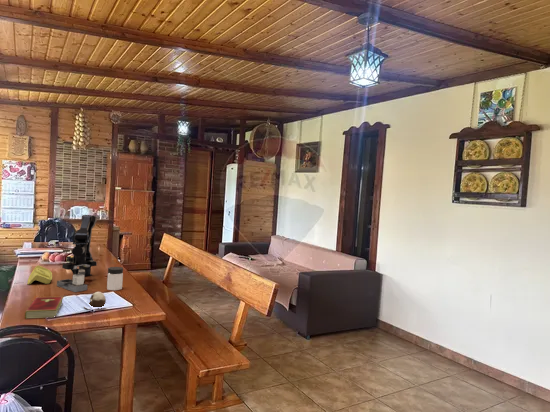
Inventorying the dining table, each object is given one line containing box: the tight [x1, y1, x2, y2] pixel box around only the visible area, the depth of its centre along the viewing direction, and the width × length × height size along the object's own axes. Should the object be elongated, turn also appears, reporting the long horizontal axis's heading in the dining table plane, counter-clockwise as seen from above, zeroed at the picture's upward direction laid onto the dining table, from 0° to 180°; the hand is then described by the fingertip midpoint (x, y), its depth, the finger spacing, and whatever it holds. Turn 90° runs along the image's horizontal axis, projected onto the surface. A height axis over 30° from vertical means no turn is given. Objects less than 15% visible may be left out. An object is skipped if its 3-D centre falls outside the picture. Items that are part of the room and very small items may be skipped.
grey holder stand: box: [56, 274, 88, 293], centre depth 220 cm, size 7×18×8 cm, turn 59°
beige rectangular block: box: [77, 268, 86, 277], centre depth 233 cm, size 4×5×7 cm
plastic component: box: [26, 265, 53, 286], centre depth 230 cm, size 20×7×10 cm
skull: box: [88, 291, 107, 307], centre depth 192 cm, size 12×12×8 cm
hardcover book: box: [24, 296, 64, 319], centre depth 181 cm, size 12×21×4 cm, turn 21°
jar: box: [106, 266, 124, 291], centre depth 226 cm, size 9×8×12 cm
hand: (79, 278), depth 234 cm, fingers closed on beige rectangular block, 4 cm apart
